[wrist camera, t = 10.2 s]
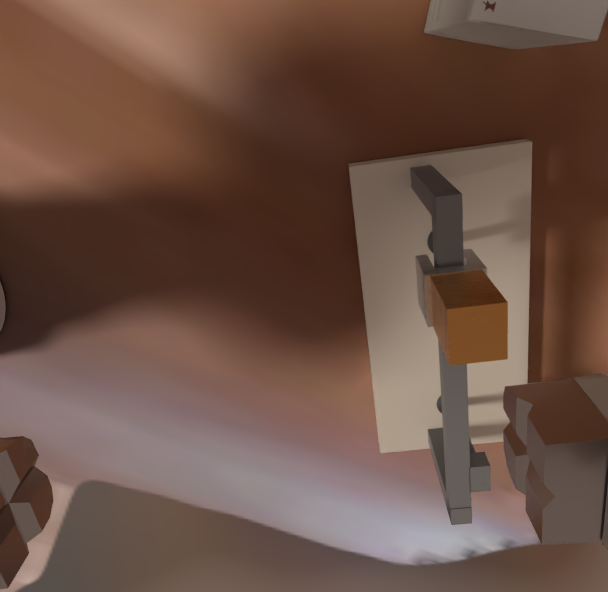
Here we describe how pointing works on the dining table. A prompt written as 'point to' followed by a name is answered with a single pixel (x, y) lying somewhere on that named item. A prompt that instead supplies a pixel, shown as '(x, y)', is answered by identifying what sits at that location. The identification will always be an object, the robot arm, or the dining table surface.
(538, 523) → the robot arm
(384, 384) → the hole plate
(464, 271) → the leg
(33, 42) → the dining table surface
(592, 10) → the supplement box
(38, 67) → the dining table surface
